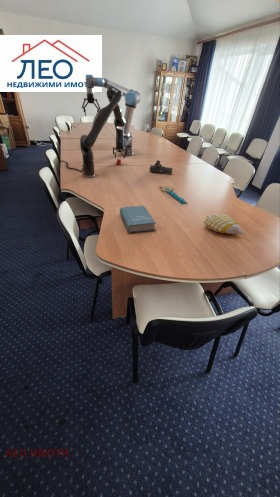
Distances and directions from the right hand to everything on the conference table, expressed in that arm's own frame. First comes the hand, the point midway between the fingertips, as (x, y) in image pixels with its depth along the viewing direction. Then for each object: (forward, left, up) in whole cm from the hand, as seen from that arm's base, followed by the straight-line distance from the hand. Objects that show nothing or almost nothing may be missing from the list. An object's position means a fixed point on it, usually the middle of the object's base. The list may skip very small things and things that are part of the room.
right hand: (91, 116), depth 247 cm
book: (+157, +78, -38) cm, 179 cm away
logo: (+106, +100, -38) cm, 151 cm away
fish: (+154, +131, -38) cm, 205 cm away
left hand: (+43, +42, -31) cm, 67 cm away
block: (+40, +40, -38) cm, 68 cm away
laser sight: (+54, +86, -38) cm, 108 cm away
